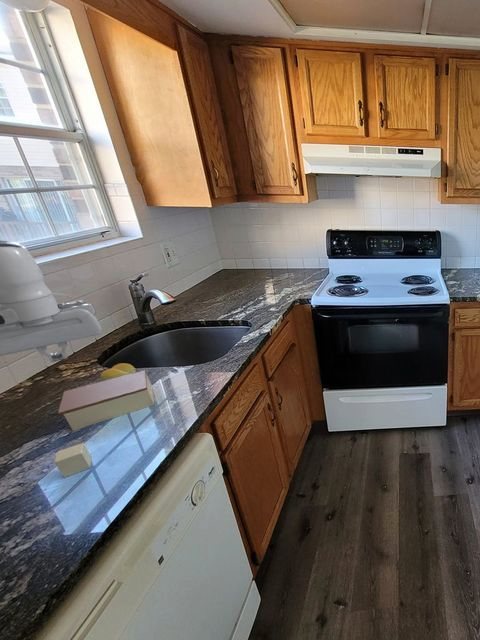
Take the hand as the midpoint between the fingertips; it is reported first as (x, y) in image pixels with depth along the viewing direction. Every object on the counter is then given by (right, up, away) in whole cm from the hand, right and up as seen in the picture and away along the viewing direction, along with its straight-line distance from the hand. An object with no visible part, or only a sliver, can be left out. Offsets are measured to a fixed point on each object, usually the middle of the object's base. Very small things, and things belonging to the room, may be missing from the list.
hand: (59, 359), depth 93 cm
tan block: (+14, -24, -9) cm, 30 cm away
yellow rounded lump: (-11, -8, +29) cm, 32 cm away
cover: (+2, -10, +11) cm, 14 cm away
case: (+2, -14, +13) cm, 20 cm away
